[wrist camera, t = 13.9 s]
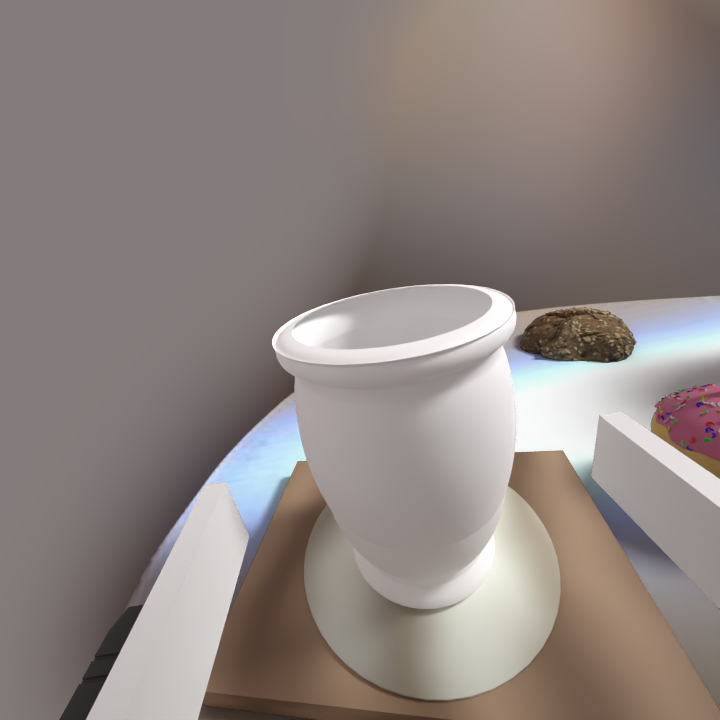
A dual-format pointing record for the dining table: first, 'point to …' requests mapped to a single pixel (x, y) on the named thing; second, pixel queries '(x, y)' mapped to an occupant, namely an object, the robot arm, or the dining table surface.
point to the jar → (409, 430)
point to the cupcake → (692, 424)
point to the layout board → (456, 623)
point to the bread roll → (579, 336)
